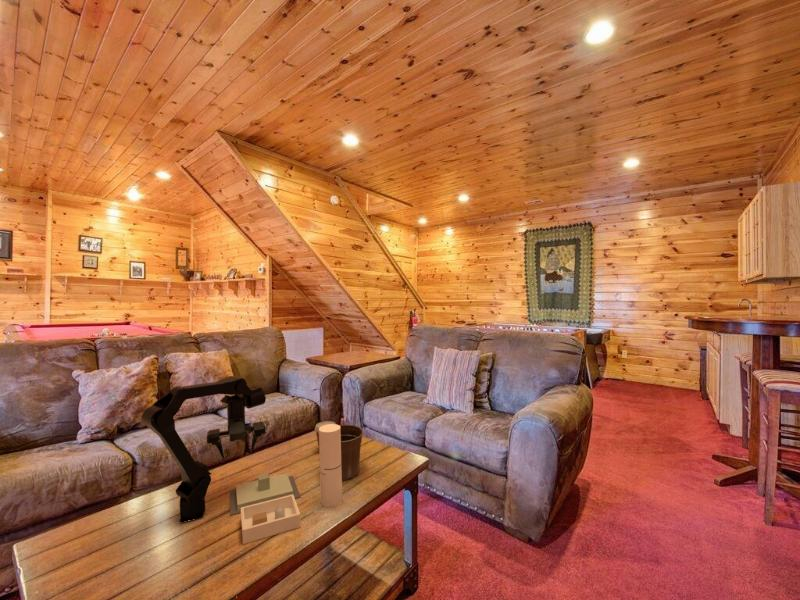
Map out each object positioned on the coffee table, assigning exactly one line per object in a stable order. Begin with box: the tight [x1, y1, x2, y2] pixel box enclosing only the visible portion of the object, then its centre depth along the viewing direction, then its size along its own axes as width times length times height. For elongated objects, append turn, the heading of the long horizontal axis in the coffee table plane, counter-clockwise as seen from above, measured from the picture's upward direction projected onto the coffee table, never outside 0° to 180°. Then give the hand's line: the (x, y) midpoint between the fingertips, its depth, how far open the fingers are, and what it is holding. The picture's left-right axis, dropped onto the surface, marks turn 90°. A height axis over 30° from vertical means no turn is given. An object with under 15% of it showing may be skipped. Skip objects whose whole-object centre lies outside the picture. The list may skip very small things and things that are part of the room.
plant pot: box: [338, 424, 364, 482], centre depth 142 cm, size 16×16×16 cm
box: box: [240, 494, 302, 545], centre depth 112 cm, size 16×12×4 cm
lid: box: [235, 472, 293, 511], centre depth 128 cm, size 18×14×6 cm
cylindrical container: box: [318, 424, 343, 508], centre depth 123 cm, size 7×7×25 cm
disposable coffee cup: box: [314, 420, 336, 448], centre depth 161 cm, size 10×10×12 cm
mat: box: [229, 475, 301, 517], centre depth 129 cm, size 22×16×1 cm
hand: (237, 455), depth 130 cm, fingers open, 9 cm apart
